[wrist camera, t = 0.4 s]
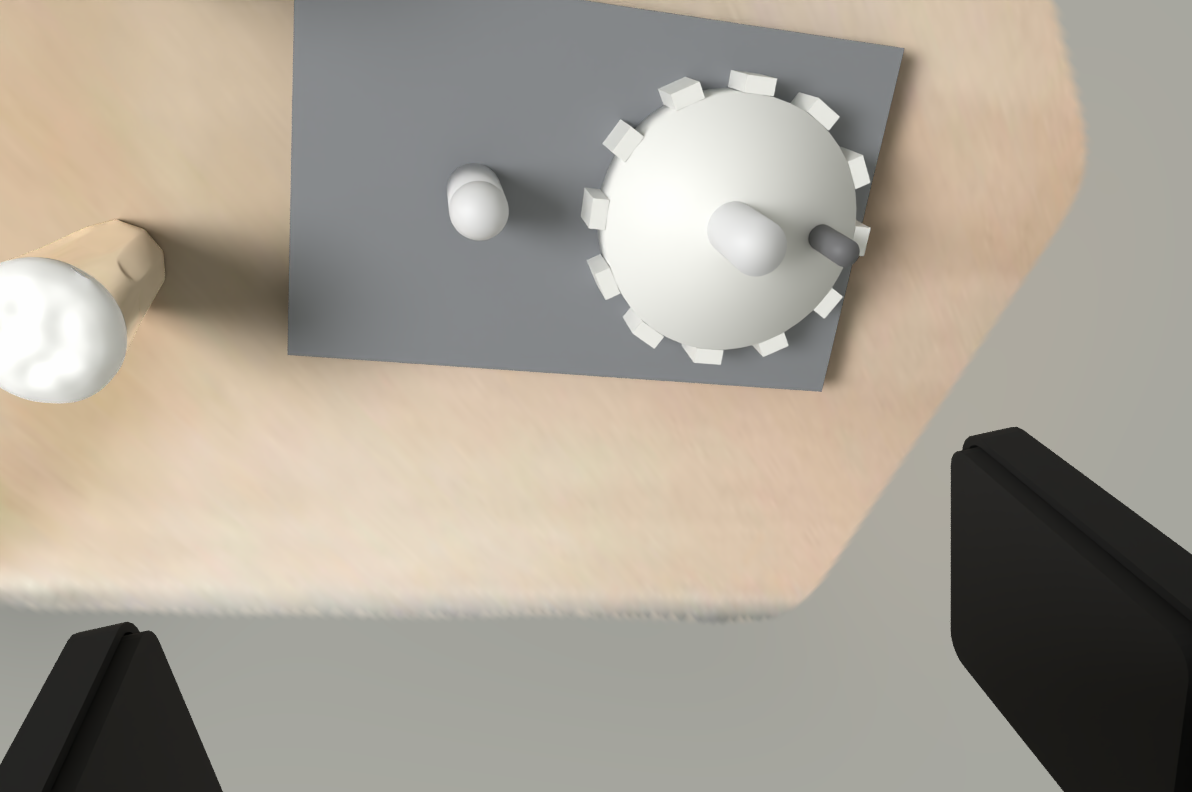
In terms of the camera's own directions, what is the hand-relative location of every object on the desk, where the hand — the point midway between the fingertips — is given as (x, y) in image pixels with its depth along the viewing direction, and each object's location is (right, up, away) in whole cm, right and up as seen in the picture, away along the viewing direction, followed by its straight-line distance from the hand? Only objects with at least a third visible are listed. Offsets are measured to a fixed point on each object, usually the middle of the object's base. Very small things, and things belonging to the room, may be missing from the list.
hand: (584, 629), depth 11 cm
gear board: (0, +11, +27) cm, 29 cm away
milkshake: (-17, +8, +25) cm, 31 cm away
